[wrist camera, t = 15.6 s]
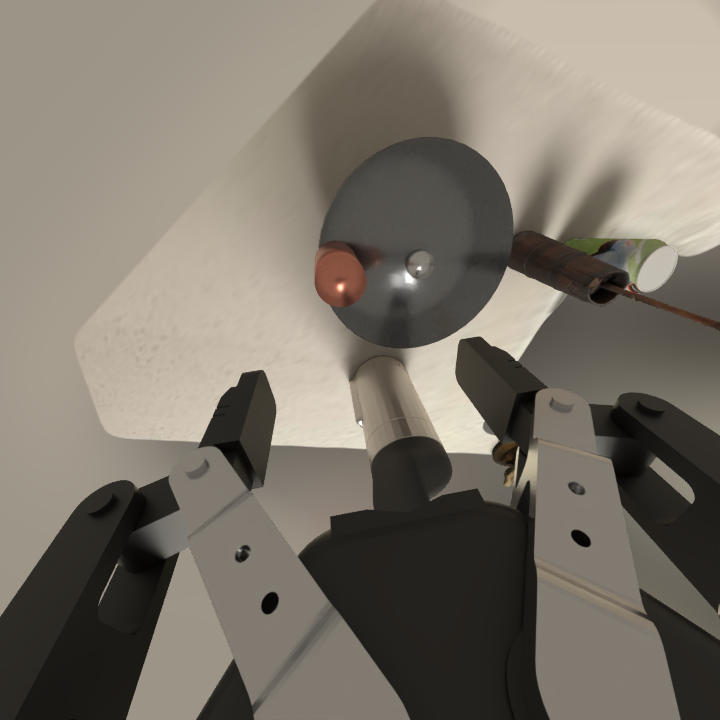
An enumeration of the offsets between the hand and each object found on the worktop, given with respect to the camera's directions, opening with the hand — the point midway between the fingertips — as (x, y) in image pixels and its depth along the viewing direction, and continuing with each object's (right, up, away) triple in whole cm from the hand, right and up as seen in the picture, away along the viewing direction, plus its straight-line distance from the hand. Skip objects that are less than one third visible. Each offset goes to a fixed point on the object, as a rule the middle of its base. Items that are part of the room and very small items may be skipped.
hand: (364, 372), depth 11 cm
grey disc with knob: (+5, +10, +15) cm, 19 cm away
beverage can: (+30, +16, +29) cm, 45 cm away
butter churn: (+22, +16, +27) cm, 38 cm away
